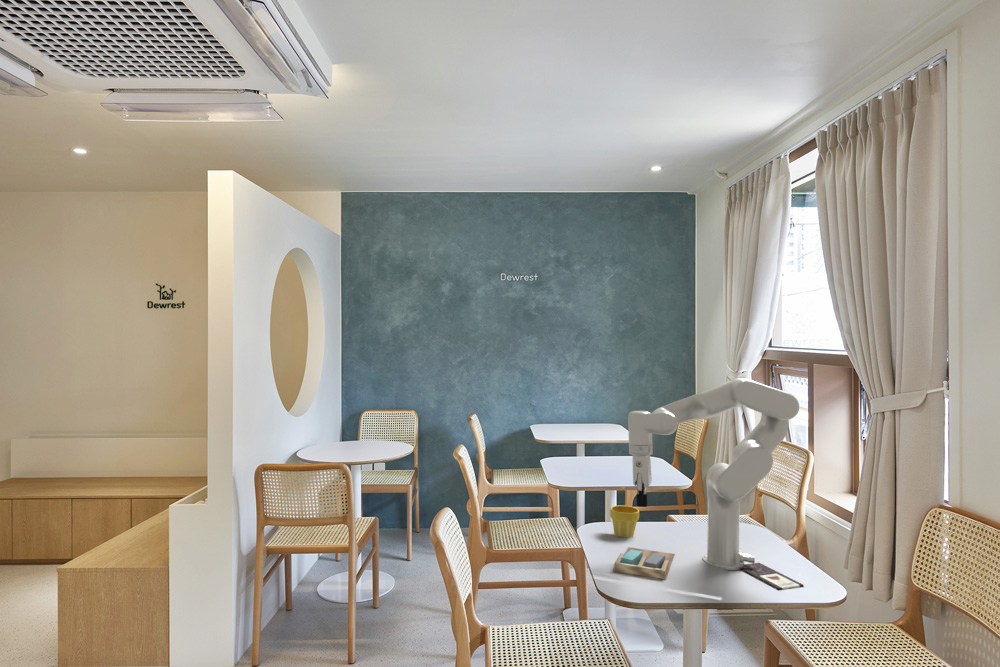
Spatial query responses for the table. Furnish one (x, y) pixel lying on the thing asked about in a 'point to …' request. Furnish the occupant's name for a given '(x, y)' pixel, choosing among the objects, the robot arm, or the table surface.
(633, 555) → the aqua foam brick
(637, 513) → the plant pot
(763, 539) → the table surface
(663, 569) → the comb board
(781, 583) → the chocolate bar
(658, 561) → the grey rectangular block
